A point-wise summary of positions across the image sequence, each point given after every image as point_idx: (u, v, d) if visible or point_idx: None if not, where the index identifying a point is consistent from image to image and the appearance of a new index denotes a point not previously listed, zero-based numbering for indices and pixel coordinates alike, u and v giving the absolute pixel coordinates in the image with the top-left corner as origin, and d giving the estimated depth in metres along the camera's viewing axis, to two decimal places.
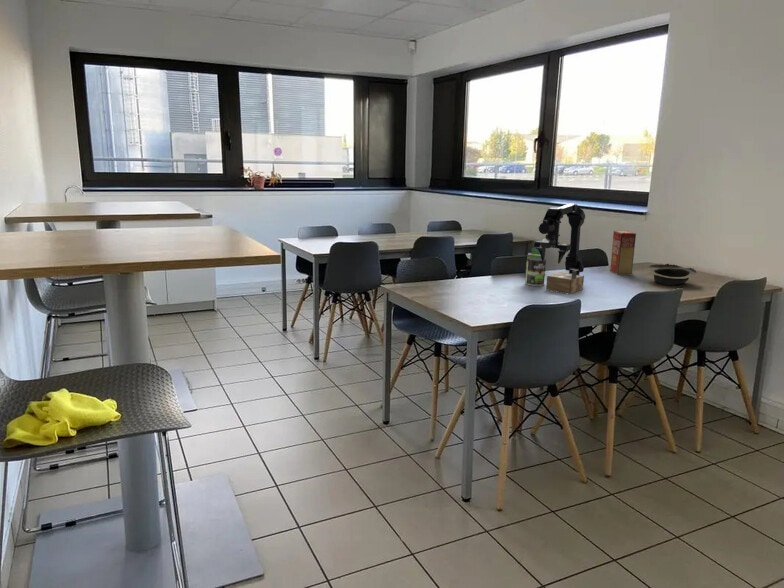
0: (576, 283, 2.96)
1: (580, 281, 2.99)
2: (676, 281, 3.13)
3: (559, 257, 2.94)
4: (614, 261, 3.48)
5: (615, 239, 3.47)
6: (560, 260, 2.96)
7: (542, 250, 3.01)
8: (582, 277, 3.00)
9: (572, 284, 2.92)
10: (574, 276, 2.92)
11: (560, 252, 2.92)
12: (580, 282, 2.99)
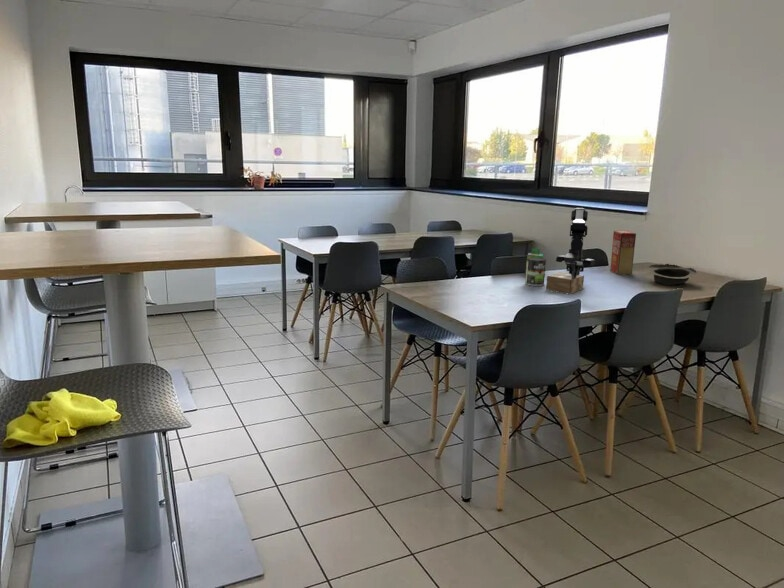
0: (576, 283, 2.96)
1: (580, 281, 2.99)
2: (676, 281, 3.13)
3: (575, 271, 2.90)
4: (614, 261, 3.48)
5: (615, 239, 3.47)
6: (576, 274, 2.91)
7: (572, 266, 2.92)
8: (582, 277, 3.00)
9: (572, 284, 2.92)
10: None
11: (577, 266, 2.88)
12: (580, 282, 2.99)
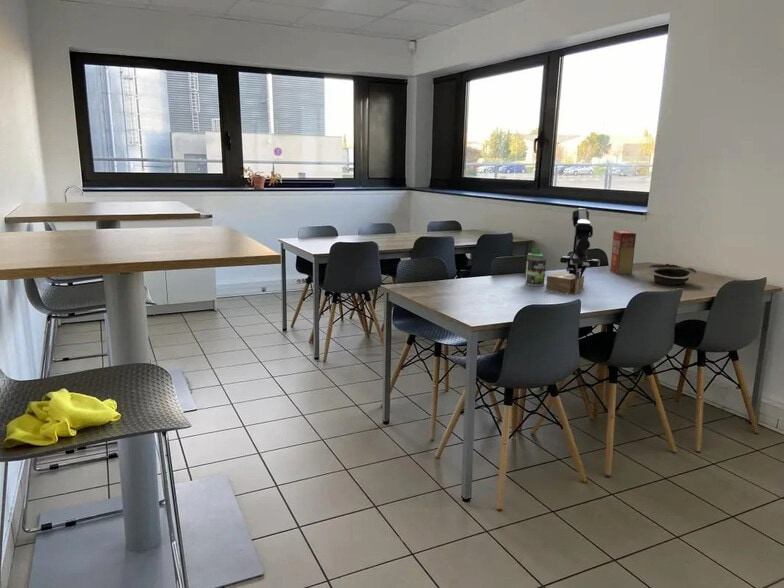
0: (579, 283, 2.95)
1: (581, 281, 2.98)
2: (676, 281, 3.13)
3: (581, 272, 2.89)
4: (614, 261, 3.48)
5: (615, 239, 3.47)
6: None
7: (576, 266, 2.90)
8: (583, 277, 2.99)
9: (576, 285, 2.91)
10: (578, 276, 2.91)
11: (583, 267, 2.87)
12: (581, 282, 2.98)
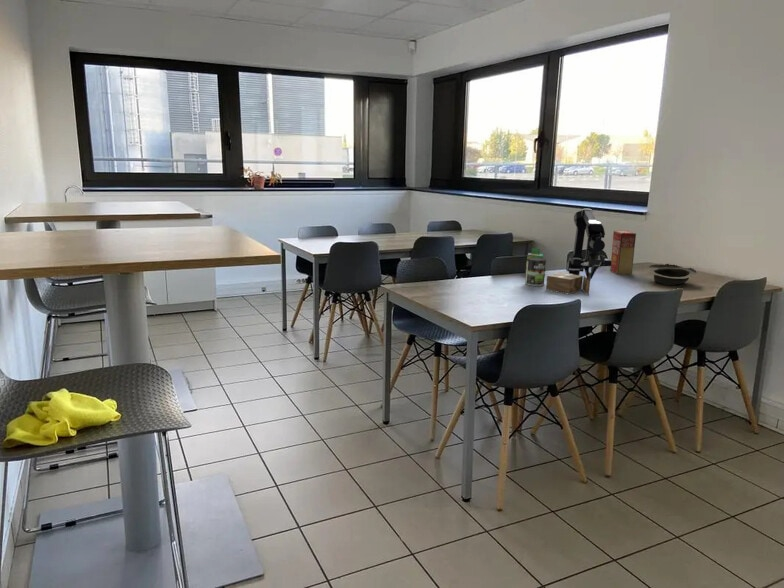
0: None
1: None
2: (676, 281, 3.13)
3: (593, 272, 2.88)
4: (614, 261, 3.48)
5: (615, 239, 3.47)
6: None
7: None
8: None
9: None
10: None
11: (596, 267, 2.86)
12: None
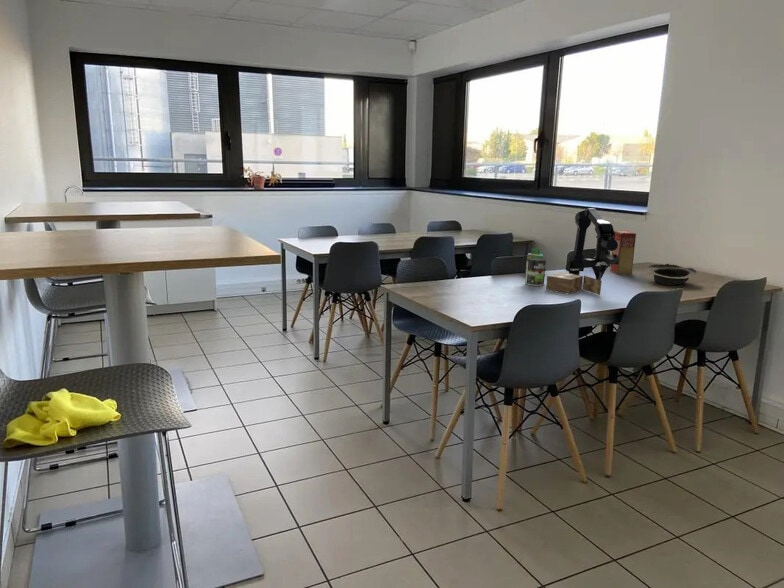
0: None
1: None
2: (676, 281, 3.13)
3: (603, 272, 2.89)
4: None
5: (615, 239, 3.47)
6: None
7: None
8: None
9: None
10: None
11: (607, 267, 2.88)
12: None
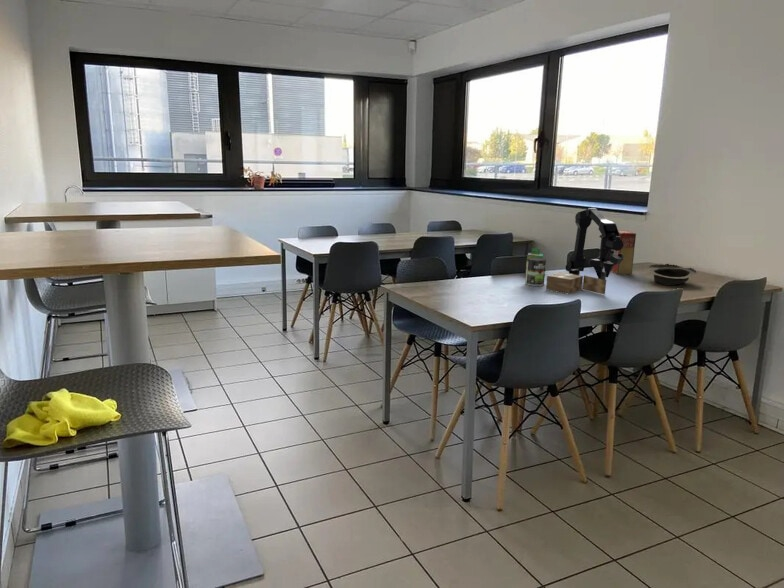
0: None
1: None
2: (676, 281, 3.13)
3: (610, 271, 2.92)
4: None
5: None
6: None
7: None
8: None
9: None
10: None
11: (614, 265, 2.91)
12: None
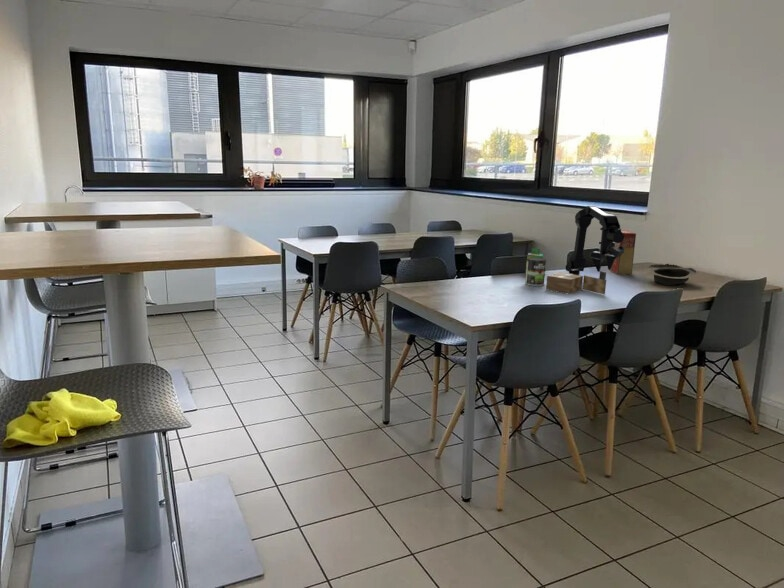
0: None
1: None
2: (676, 281, 3.13)
3: (612, 263, 2.92)
4: (614, 261, 3.48)
5: None
6: None
7: None
8: None
9: None
10: None
11: (616, 258, 2.91)
12: None
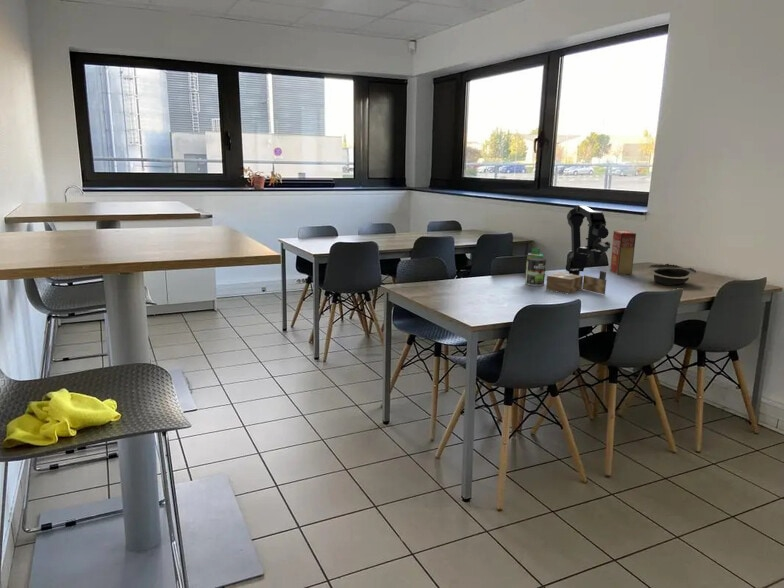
0: None
1: None
2: (676, 281, 3.13)
3: (599, 258, 3.02)
4: (614, 261, 3.48)
5: (615, 239, 3.47)
6: None
7: None
8: None
9: None
10: None
11: (602, 253, 3.01)
12: None
